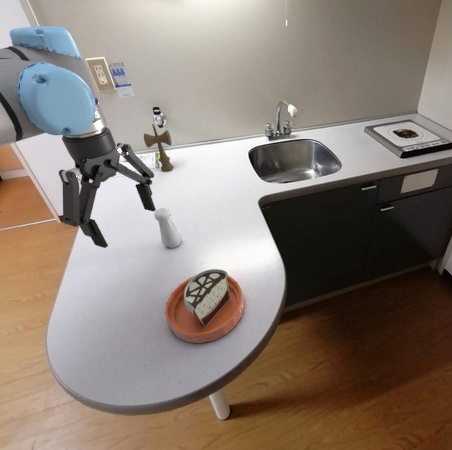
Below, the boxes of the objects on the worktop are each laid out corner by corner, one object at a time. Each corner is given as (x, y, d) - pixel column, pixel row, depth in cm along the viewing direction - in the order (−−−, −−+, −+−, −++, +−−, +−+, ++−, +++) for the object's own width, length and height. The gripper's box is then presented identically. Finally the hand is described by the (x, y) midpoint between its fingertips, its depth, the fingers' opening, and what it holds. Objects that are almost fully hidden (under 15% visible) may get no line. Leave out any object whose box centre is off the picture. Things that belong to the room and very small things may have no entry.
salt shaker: (178, 234, 99) (167, 202, 91) (186, 244, 96) (175, 211, 88) (161, 243, 96) (147, 210, 88) (168, 252, 93) (154, 219, 85)
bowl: (216, 356, 68) (212, 347, 65) (153, 327, 74) (148, 318, 71) (257, 294, 81) (255, 285, 78) (201, 274, 86) (197, 264, 84)
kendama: (179, 170, 131) (165, 125, 118) (155, 174, 129) (138, 128, 116) (179, 164, 136) (166, 119, 123) (156, 167, 133) (140, 122, 121)
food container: (215, 286, 82) (207, 260, 76) (233, 295, 80) (227, 269, 74) (181, 321, 74) (169, 296, 68) (200, 333, 72) (190, 308, 65)
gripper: (27, 163, 44) (91, 269, 56) (152, 112, 62) (179, 200, 75) (-7, 156, 46) (62, 259, 59) (124, 108, 64) (154, 194, 77)
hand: (127, 226), depth 67 cm, fingers open, 13 cm apart
